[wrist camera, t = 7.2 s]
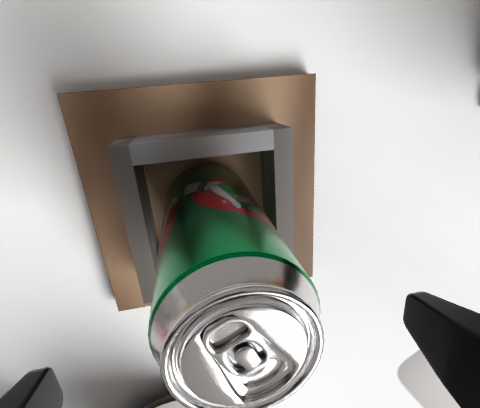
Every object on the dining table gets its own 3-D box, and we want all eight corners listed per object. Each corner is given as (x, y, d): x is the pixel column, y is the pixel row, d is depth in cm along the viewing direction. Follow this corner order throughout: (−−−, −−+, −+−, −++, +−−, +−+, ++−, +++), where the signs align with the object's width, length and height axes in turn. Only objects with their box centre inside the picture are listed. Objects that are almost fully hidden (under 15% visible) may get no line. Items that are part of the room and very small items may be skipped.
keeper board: (308, 74, 18) (341, 69, 14) (307, 269, 23) (330, 302, 19) (64, 93, 16) (29, 94, 12) (121, 301, 21) (108, 345, 18)
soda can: (196, 250, 20) (217, 452, 9) (148, 191, 18) (96, 355, 7) (260, 209, 20) (364, 362, 9) (219, 145, 18) (285, 235, 7)
